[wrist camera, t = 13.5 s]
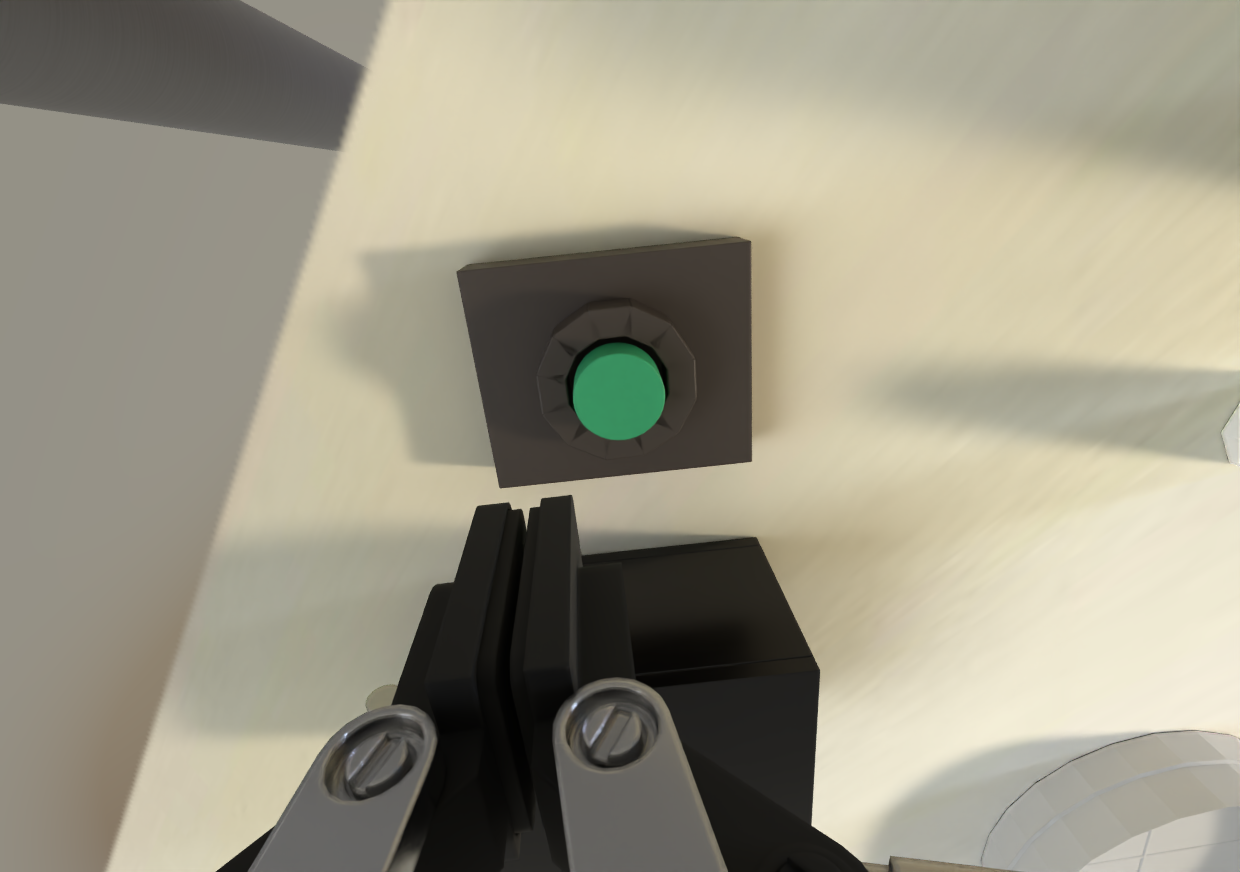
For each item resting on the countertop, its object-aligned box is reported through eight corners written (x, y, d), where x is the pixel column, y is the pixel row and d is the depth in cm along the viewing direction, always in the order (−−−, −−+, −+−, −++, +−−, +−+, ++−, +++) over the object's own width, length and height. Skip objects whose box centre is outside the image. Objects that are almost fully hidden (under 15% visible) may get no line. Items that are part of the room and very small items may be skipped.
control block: (466, 264, 26) (446, 277, 22) (738, 236, 26) (763, 244, 22) (505, 468, 29) (493, 508, 26) (740, 443, 30) (762, 479, 26)
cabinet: (526, 729, 37) (507, 901, 28) (490, 564, 32) (452, 710, 23) (756, 705, 37) (809, 868, 28) (756, 536, 32) (820, 670, 23)
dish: (971, 940, 49) (1011, 1019, 44) (991, 760, 40) (1043, 835, 35) (1239, 897, 48) (1308, 973, 44) (1319, 705, 39) (1415, 774, 35)
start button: (568, 346, 23) (567, 358, 22) (657, 337, 24) (662, 348, 22) (579, 428, 25) (578, 445, 23) (663, 420, 25) (668, 436, 23)
